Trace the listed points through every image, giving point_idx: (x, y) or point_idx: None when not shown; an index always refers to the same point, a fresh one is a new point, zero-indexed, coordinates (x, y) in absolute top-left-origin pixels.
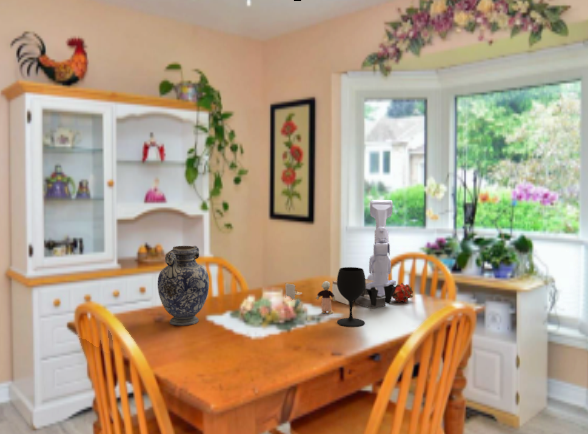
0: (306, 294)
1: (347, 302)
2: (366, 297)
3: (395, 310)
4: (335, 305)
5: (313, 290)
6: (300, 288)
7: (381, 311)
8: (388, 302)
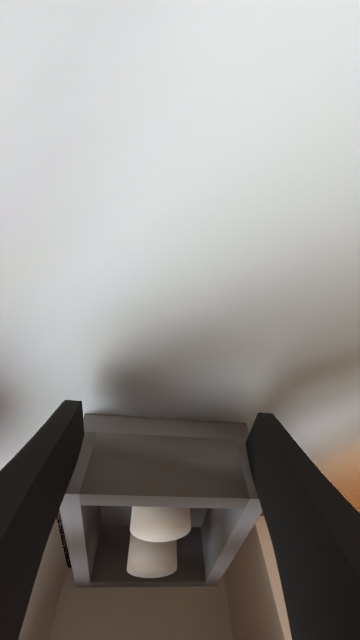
0: None
1: None
2: (171, 546)
3: (125, 255)
4: None
5: None
6: None
7: (275, 319)
8: (78, 415)
